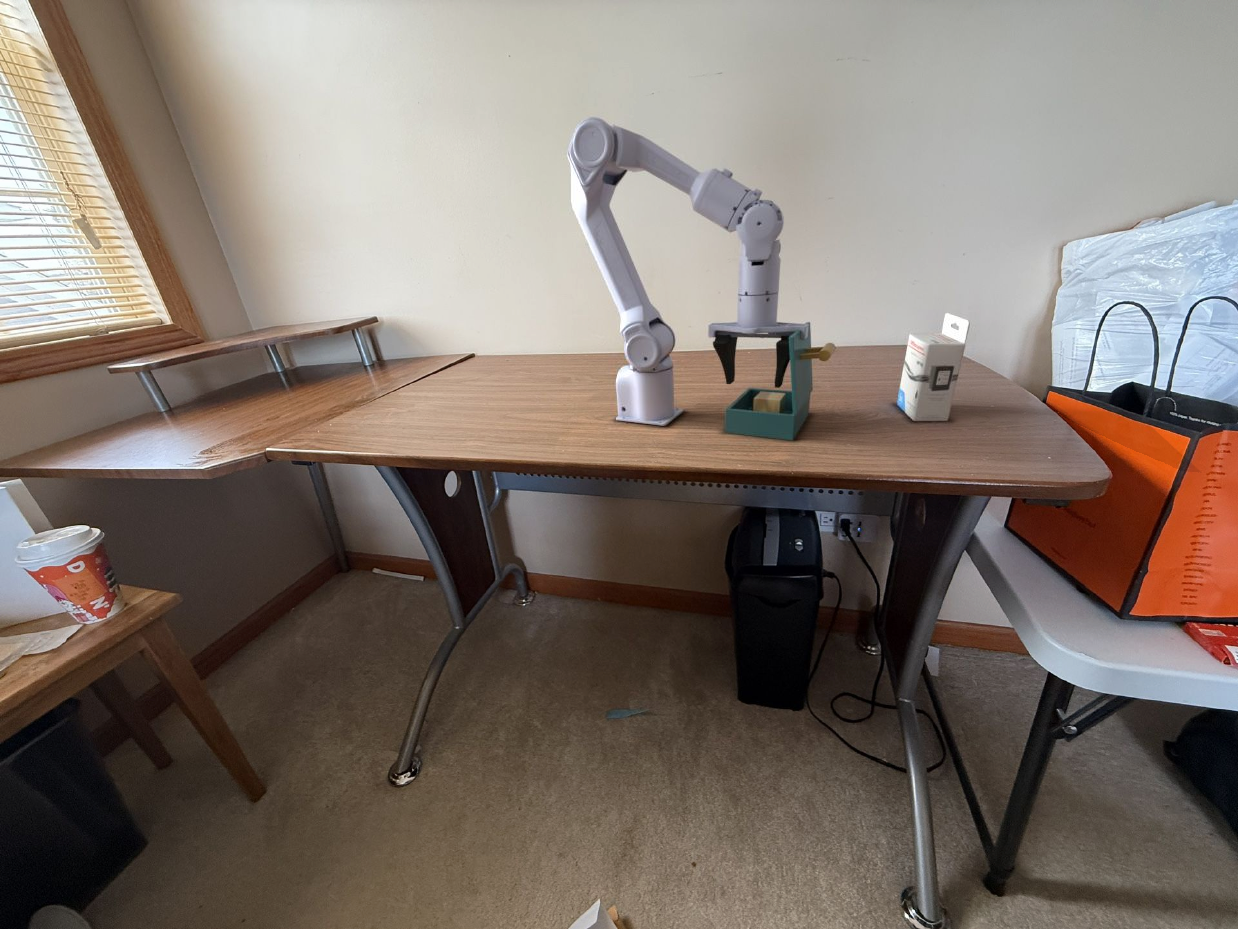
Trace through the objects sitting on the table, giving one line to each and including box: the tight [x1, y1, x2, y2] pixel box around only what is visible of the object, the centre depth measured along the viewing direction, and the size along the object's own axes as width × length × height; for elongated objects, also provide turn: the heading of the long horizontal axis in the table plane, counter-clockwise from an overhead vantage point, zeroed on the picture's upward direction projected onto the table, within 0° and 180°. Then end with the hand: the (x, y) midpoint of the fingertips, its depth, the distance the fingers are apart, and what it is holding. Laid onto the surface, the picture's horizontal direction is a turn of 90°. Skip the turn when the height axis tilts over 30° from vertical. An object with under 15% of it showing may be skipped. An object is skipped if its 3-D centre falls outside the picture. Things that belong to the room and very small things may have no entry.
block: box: [753, 391, 786, 414], centre depth 76 cm, size 4×4×4 cm
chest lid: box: [789, 321, 837, 414], centre depth 70 cm, size 11×12×5 cm
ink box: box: [896, 312, 971, 422], centre depth 73 cm, size 9×5×15 cm, turn 168°
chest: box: [724, 387, 812, 441], centre depth 76 cm, size 10×12×4 cm
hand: (753, 384), depth 75 cm, fingers open, 7 cm apart
